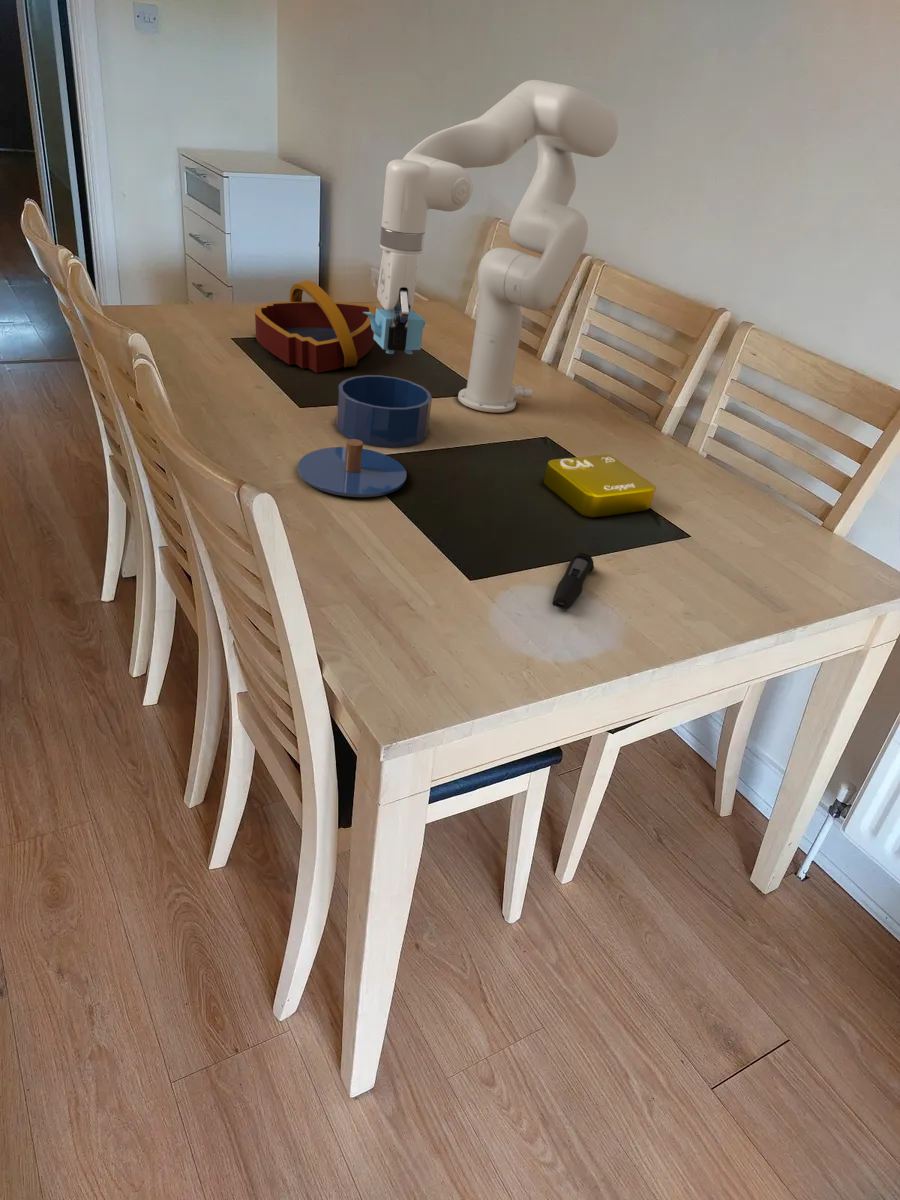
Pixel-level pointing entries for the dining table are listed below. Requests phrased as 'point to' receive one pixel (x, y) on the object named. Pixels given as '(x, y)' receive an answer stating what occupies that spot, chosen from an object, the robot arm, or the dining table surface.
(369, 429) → the pot
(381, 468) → the lid
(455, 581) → the dining table surface
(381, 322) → the teapot
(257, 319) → the decorative basket
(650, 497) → the element tile
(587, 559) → the electric trimmer
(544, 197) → the robot arm
